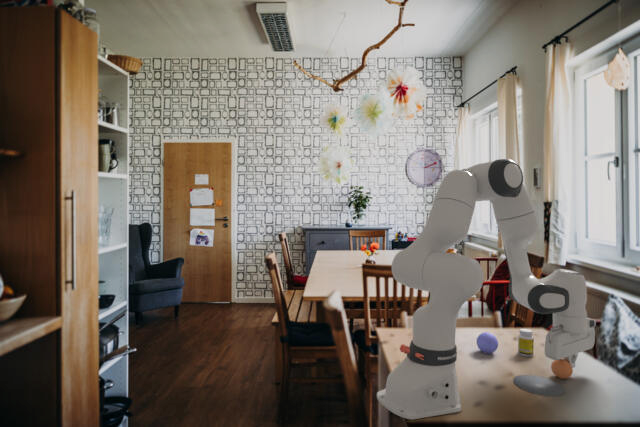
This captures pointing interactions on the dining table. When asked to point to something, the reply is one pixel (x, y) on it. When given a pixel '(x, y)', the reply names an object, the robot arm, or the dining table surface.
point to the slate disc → (539, 385)
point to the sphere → (487, 342)
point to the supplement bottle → (525, 342)
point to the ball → (561, 368)
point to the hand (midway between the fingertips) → (569, 367)
